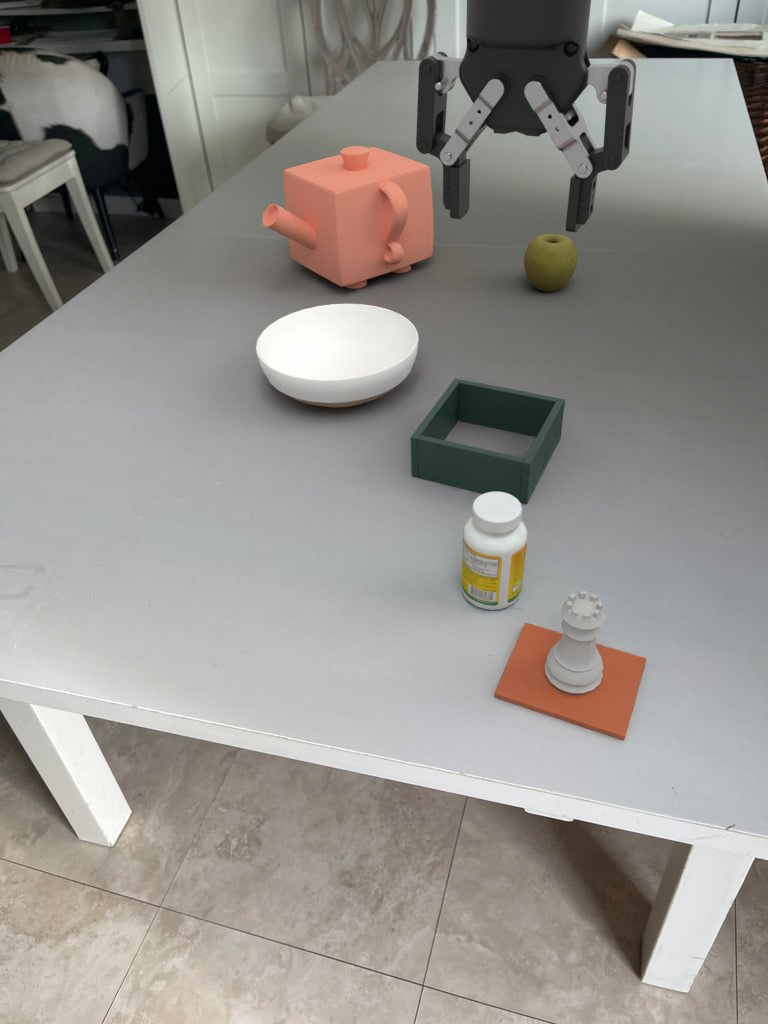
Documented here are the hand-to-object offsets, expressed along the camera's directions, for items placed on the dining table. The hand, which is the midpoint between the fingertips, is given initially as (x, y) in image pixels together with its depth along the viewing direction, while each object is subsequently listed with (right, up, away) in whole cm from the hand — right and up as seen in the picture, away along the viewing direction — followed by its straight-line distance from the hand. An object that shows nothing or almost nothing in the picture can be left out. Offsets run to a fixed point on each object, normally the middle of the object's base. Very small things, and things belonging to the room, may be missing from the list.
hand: (514, 221), depth 58 cm
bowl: (-15, -5, +42) cm, 45 cm away
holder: (+2, -15, +29) cm, 33 cm away
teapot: (-16, +16, +68) cm, 72 cm away
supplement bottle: (0, -28, +14) cm, 31 cm away
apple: (+15, +12, +62) cm, 65 cm away
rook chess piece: (+5, -34, +6) cm, 35 cm away
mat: (+5, -34, +6) cm, 35 cm away
